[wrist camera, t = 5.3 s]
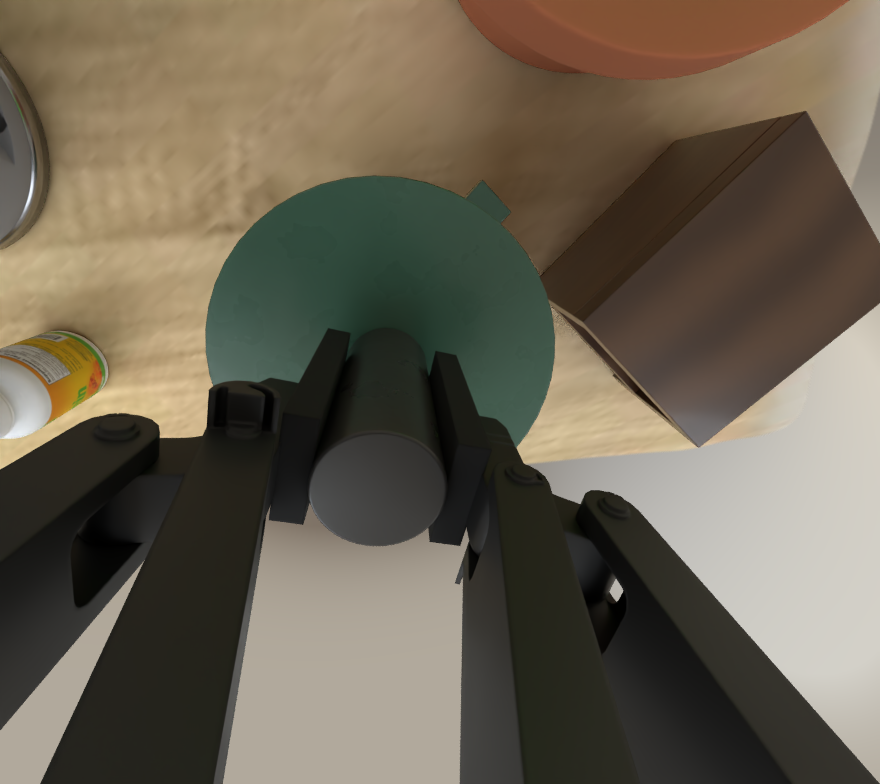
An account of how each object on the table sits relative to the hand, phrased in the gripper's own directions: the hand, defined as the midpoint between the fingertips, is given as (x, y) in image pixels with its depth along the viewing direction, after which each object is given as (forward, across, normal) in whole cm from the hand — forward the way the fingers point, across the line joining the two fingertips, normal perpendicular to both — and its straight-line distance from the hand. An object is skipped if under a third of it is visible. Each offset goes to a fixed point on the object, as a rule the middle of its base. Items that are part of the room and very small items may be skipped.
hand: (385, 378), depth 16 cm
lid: (+2, 0, 0) cm, 2 cm away
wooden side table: (+19, +19, +5) cm, 28 cm away
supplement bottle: (+20, -22, -11) cm, 32 cm away
